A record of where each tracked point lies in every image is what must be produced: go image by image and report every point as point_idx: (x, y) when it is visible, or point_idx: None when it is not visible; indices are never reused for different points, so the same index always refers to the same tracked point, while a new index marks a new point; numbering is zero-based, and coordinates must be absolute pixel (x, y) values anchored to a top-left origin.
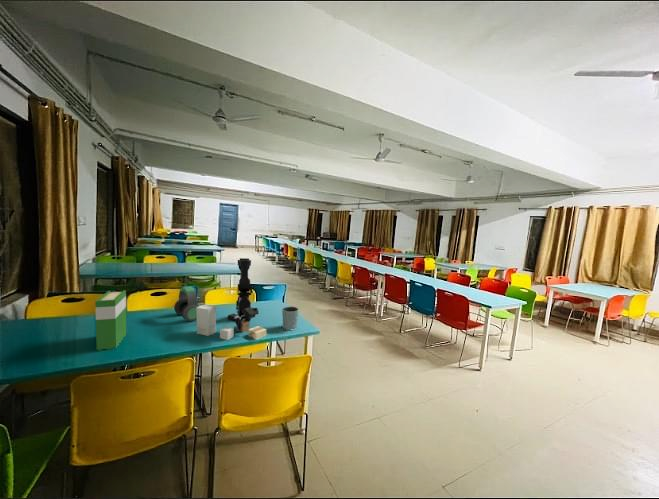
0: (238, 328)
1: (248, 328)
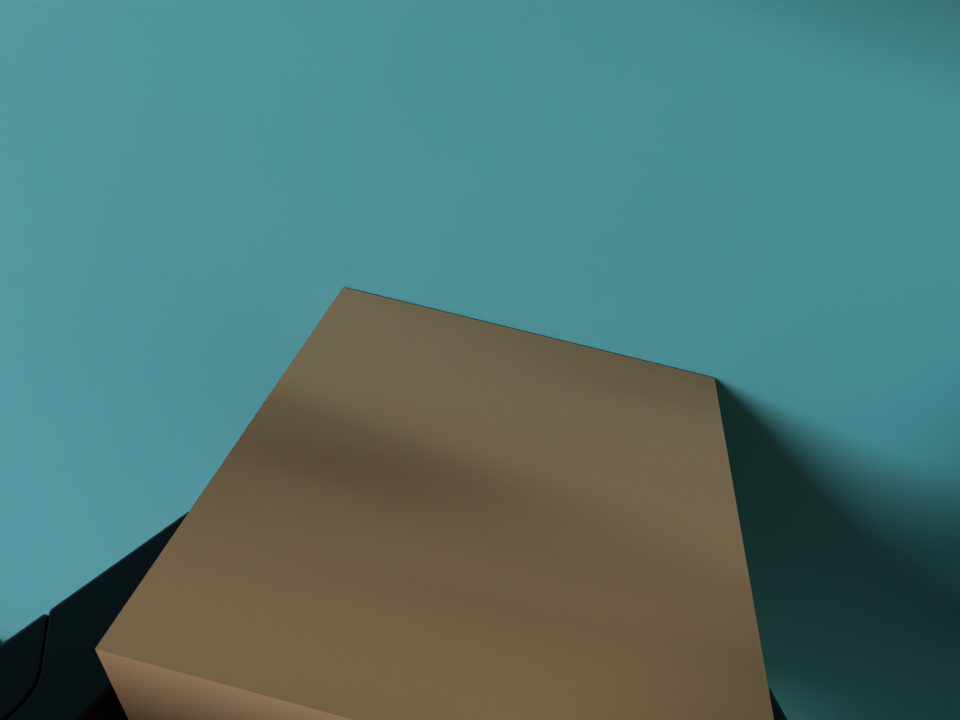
0: None
1: (364, 344)
